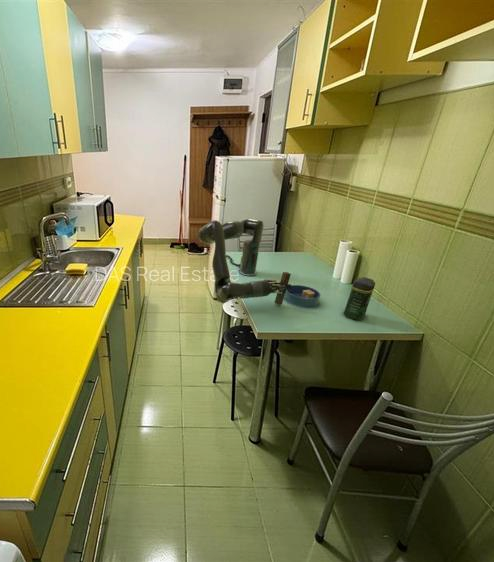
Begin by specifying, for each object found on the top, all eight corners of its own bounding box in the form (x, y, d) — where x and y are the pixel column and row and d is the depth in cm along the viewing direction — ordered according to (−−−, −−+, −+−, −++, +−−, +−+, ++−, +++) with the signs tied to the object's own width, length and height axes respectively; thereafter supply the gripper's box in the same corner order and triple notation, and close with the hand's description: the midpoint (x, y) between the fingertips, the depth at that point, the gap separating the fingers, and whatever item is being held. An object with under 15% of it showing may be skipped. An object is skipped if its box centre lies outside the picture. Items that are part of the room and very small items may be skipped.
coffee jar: (359, 322, 136) (371, 285, 129) (341, 315, 141) (351, 279, 134) (367, 315, 142) (378, 279, 135) (348, 309, 147) (359, 274, 140)
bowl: (277, 295, 160) (279, 287, 158) (302, 291, 164) (304, 283, 162) (298, 310, 146) (300, 300, 144) (325, 305, 150) (327, 296, 148)
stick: (274, 302, 149) (282, 272, 143) (278, 302, 150) (287, 272, 144) (277, 304, 146) (286, 274, 141) (282, 304, 147) (290, 274, 141)
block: (301, 297, 157) (303, 290, 155) (307, 296, 158) (309, 289, 157) (306, 300, 154) (308, 293, 152) (313, 299, 155) (315, 292, 153)
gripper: (267, 287, 133) (300, 283, 138) (250, 276, 145) (280, 272, 150) (265, 303, 136) (297, 298, 141) (248, 290, 148) (278, 286, 153)
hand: (288, 285), depth 145 cm, fingers closed on stick, 2 cm apart
